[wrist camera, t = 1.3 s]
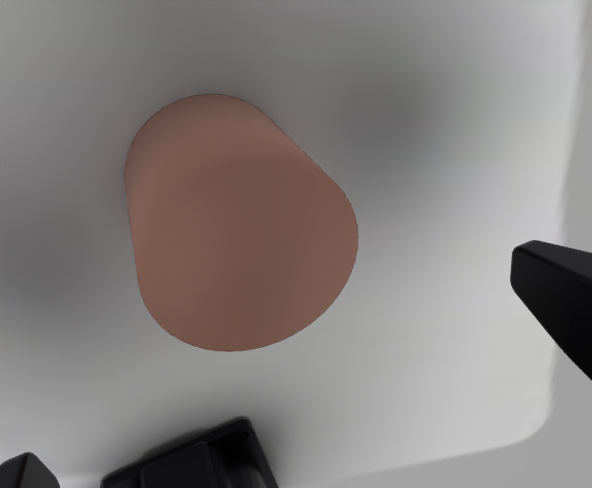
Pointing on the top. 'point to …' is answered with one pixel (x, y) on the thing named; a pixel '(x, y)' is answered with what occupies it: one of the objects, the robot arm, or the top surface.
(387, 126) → the top surface
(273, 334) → the brick cylinder
